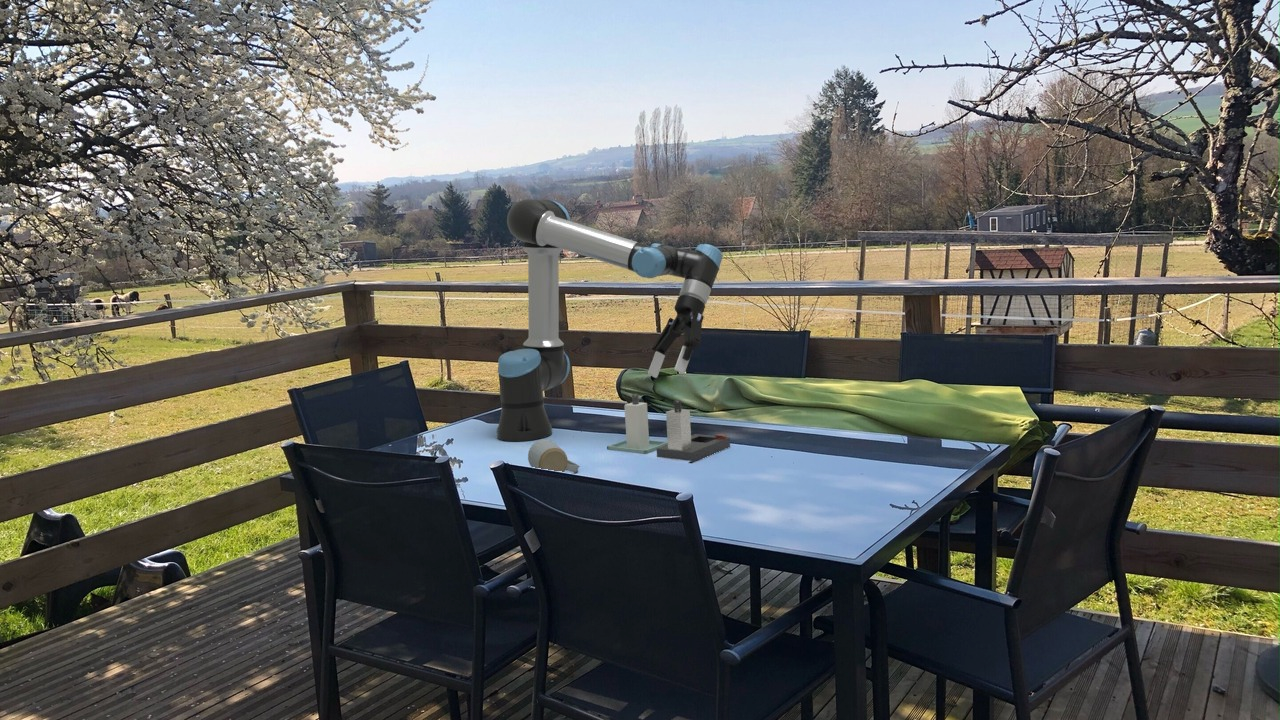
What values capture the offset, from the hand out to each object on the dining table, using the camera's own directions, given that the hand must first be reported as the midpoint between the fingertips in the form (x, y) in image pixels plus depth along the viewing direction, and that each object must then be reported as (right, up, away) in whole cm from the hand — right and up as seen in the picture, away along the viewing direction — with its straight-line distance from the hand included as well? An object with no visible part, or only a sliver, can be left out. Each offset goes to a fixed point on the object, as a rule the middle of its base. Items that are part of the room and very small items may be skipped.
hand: (665, 374), depth 227 cm
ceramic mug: (-26, -23, -23) cm, 41 cm away
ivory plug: (-7, -18, -4) cm, 20 cm away
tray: (-7, -19, -4) cm, 20 cm away
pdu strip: (+7, -19, -11) cm, 23 cm away
